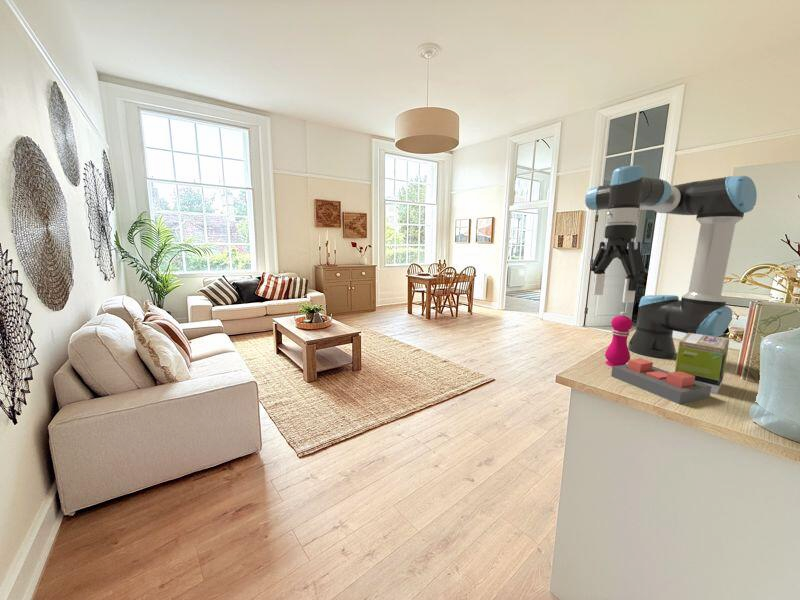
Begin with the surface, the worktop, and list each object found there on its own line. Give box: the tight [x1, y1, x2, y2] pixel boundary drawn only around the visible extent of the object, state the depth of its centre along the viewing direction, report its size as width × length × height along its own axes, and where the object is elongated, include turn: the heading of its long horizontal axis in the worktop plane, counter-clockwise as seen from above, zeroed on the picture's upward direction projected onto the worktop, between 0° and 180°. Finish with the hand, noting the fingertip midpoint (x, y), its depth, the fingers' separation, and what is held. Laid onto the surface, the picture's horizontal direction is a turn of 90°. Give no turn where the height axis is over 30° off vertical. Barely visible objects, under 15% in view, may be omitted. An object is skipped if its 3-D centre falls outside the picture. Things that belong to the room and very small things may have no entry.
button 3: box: [666, 371, 695, 388], centre depth 91 cm, size 5×4×4 cm
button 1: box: [627, 357, 654, 373], centre depth 101 cm, size 5×4×4 cm
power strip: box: [610, 363, 712, 405], centre depth 99 cm, size 13×26×4 cm, turn 19°
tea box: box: [674, 333, 730, 395], centre depth 99 cm, size 15×10×15 cm
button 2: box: [646, 371, 667, 380], centre depth 96 cm, size 5×4×4 cm
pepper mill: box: [604, 311, 633, 368], centre depth 112 cm, size 7×7×20 cm
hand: (611, 298), depth 97 cm, fingers open, 13 cm apart
